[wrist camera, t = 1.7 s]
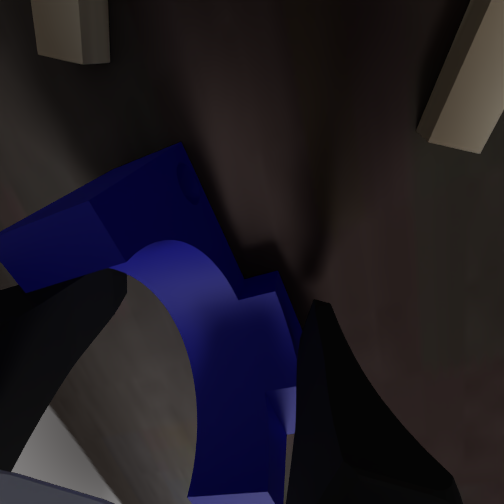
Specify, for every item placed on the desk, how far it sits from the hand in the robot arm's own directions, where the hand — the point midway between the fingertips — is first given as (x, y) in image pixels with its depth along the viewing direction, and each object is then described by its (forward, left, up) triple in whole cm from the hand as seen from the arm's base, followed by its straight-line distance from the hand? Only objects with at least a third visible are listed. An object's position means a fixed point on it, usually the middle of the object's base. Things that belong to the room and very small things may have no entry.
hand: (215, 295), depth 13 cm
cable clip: (0, +1, -2) cm, 2 cm away
